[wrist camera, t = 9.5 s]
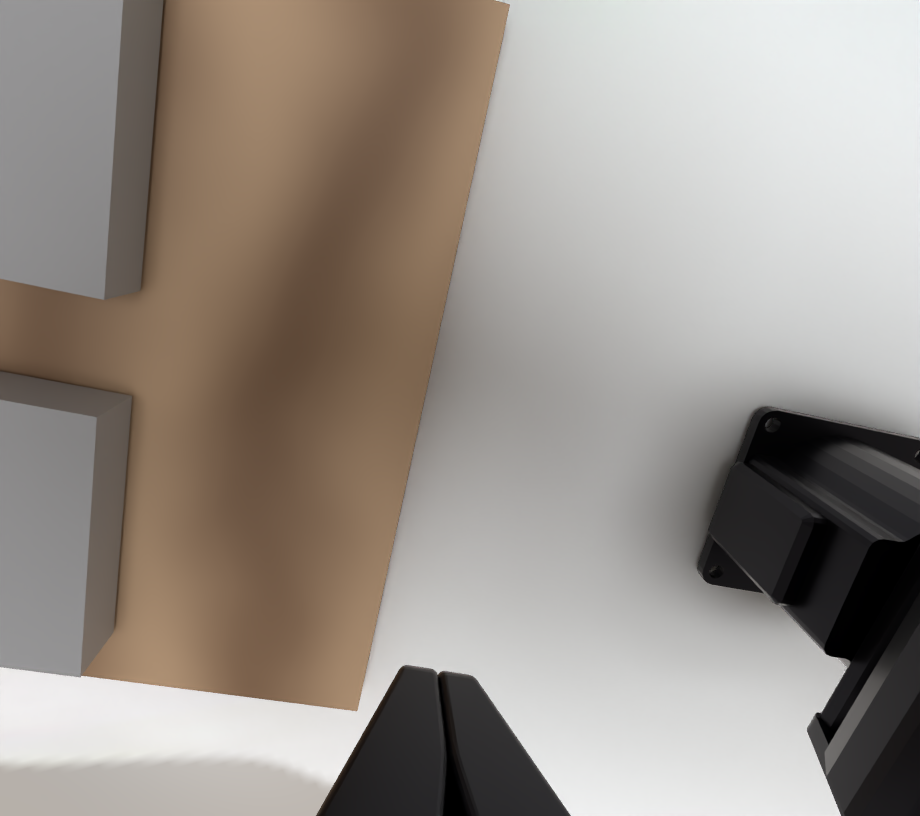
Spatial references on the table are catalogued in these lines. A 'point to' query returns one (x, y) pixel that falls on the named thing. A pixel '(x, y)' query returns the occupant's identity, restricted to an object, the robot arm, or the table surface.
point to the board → (276, 330)
